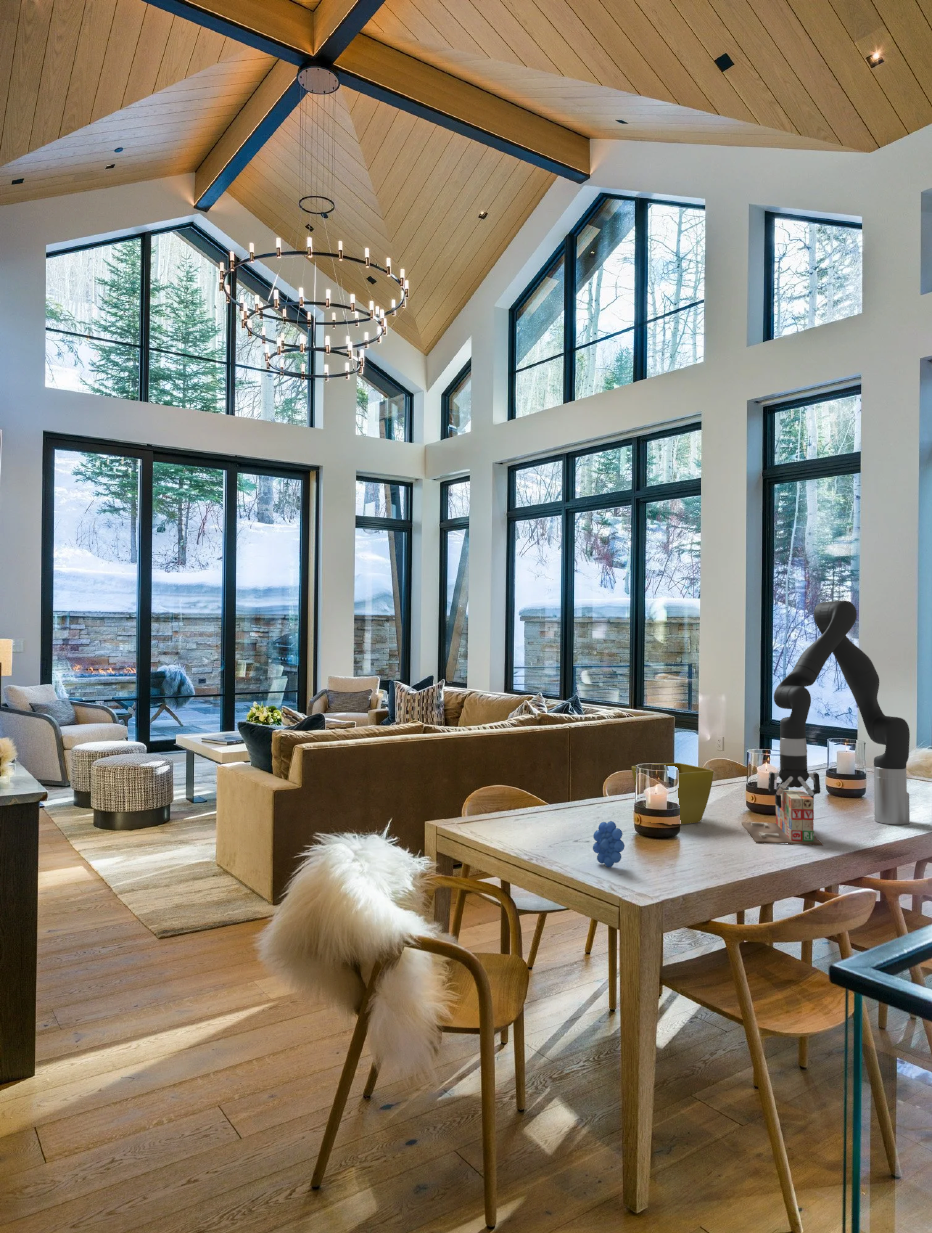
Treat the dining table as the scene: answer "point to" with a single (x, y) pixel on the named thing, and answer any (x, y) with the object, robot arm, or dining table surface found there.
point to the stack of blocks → (796, 815)
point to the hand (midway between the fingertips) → (794, 807)
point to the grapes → (608, 843)
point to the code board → (772, 834)
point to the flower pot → (691, 790)
